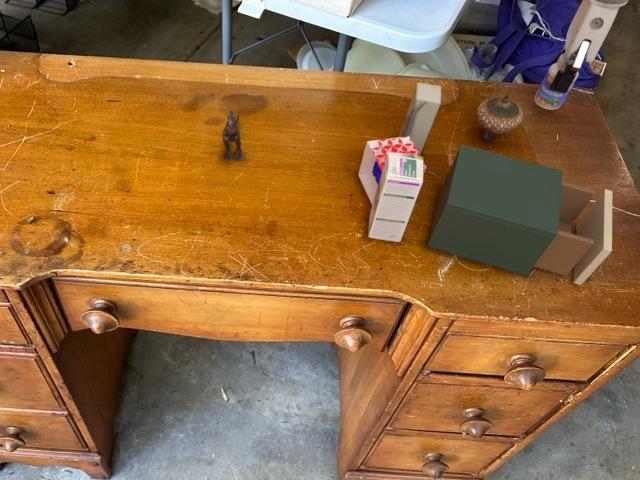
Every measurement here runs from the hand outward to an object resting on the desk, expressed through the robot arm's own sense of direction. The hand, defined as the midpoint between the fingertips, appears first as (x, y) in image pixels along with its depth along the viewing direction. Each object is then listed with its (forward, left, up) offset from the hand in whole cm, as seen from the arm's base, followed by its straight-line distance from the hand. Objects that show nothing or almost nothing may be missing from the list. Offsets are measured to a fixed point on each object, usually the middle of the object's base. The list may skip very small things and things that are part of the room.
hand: (558, 80), depth 112 cm
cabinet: (+7, +38, -7) cm, 39 cm away
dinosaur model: (+55, +34, -8) cm, 65 cm away
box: (+23, +22, -8) cm, 33 cm away
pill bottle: (0, 0, -5) cm, 5 cm away
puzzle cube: (+25, +34, -8) cm, 43 cm away
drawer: (-2, +38, -6) cm, 38 cm away
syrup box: (+23, +44, -8) cm, 50 cm away
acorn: (+9, +13, -8) cm, 18 cm away
